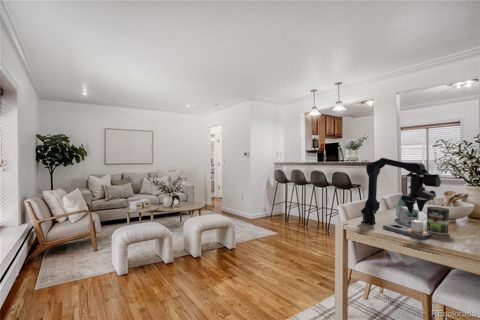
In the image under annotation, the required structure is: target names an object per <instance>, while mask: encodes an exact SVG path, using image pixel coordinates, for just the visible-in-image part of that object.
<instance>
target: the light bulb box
mask: <svg viewBox="0 0 480 320" xmlns="http://www.w3.org/2000/svg"><path fill="white" fill-rule="evenodd" d="M414 208H415V207H414ZM414 208H413V212H412V213H410V212H409V210H408V208H407V207H404V206H400V219H399V222H400V223H402V224H403V225H404V226H406V227H411V221H413V220H417V221H419V214H420V213H419V212H420V211H419V209H418V208H415V209H414Z"/></svg>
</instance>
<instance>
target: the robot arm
mask: <svg viewBox="0 0 480 320" xmlns="http://www.w3.org/2000/svg"><path fill="white" fill-rule="evenodd" d="M386 165H387V166H391V167H395V168H400V169H404V170H406V171H407V172H409V173H408V174H407V175H406V177H410V183H409V184H410V185H409V186H408V189H410V191H409V193H407V194H403V195H402V194H401V195H402V196H401V195H400V196H401V200H403V201H404V203H405V205H406V206H407V208H408V210H409V212H410V213H412V212H413V206H414V207H415V205H416V204H417V210H419V212H420V213H422V212H423V209H424V208H425V204H426V203H428V202H429V201H434V199H435V198H436V197H437V195H436V194H437V193H436V191H435V190H430V191H429V190H426V187H433V188H440V186H441V183H442V180H441V178H440V174H437V173H436V174H435V173H434V174H432V173H431V174H430V173H429V172H428V170H427V168H426V166H425V165H424V163H422V162H408V161H407V162H406V161H402V160H398V159H393V158H388V157H381V158H379V159H378V160H375V161H373V162H371V163H368V164H367V165H366V167H365V170H366V174H367V176H368V188H367V189H368V190H367V193H368V194H367V199H366V201H365V203H364V207H363V208H362V209H361V210H360V213H361V215H362V221H361V223H362V224H367V225H374V224H377V222H376V216H375V215H376V214H377V212H378V211H379V209H380V208H381V207H380V204H381V202H380V201H378V200H377V194H378V193H377V192H378V191H377V189H378V176H379V175H380V172H381V169H383V168H384V167H385V166H386ZM424 186H425V187H424Z"/></svg>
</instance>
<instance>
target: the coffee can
mask: <svg viewBox="0 0 480 320" xmlns="http://www.w3.org/2000/svg"><path fill="white" fill-rule="evenodd" d="M449 224H450V209H449V208H445V207H441V206H427V207H426V232H429V233H433V234H436V235H446V236H447V235H449Z"/></svg>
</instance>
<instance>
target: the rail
mask: <svg viewBox="0 0 480 320" xmlns="http://www.w3.org/2000/svg"><path fill="white" fill-rule="evenodd" d="M382 225H383V226H382V229H384V230H388V231H391V232H394V233H398V234H400V235H404V236H405V235H406V236H409V237H412V238H415V239H418V240H419V239H420V240H423V241H424V240H426V239H432V238H434V233H431V232H428V231H425V230H423V233H416V232H413V231H411V226H407V225H401V224H398V223H387V224H382Z"/></svg>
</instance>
